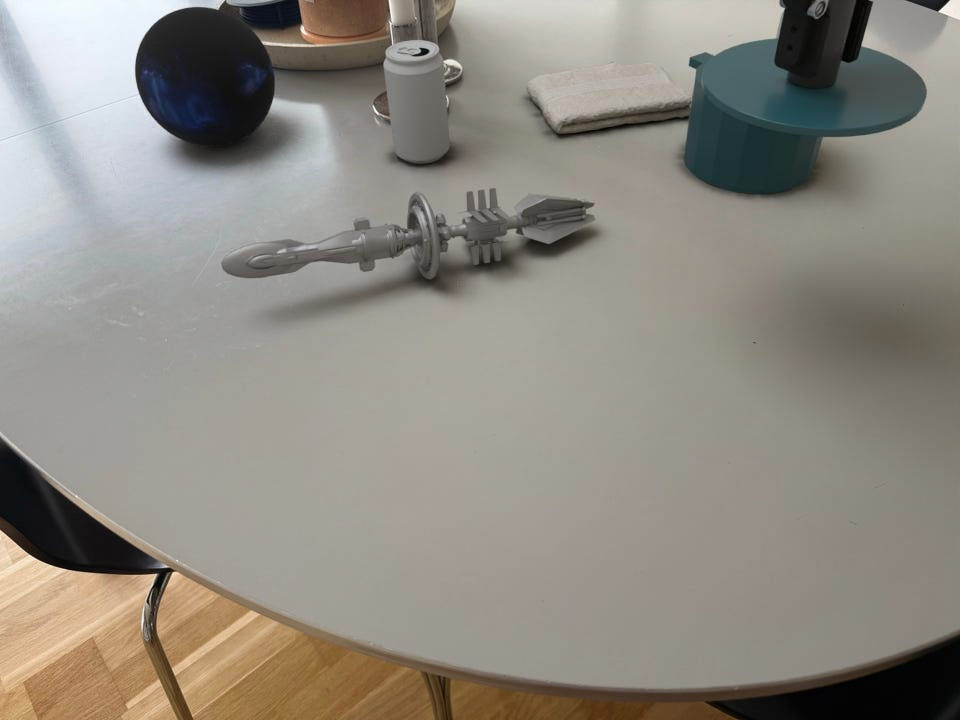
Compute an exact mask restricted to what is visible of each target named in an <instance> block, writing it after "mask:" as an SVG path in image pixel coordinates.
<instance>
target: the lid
mask: <svg viewBox="0 0 960 720" xmlns="http://www.w3.org/2000/svg"><path fill="white" fill-rule="evenodd" d="M856 2H857V0H829V2H828V5H827V8H826V11H825V13H824V15H827V16H830V17H831V19H830V24H829V28H828V32H827V36H826V40H825V44H824V49H823V53H822V57H821V61H820V65H819V69H818V73H817V75H816V76H815V77H812V78H810V79H805V78H803V77H801V76H798V75H796V74H793V73H791V72H789V71H786V70H784V69H781V68H779V67H777V66H776V65H775V63H774V59H775V54H776V49H777V44H778V39H779V38H776V37H774V38H766V39H758V40H751V41H749V42H744V43H740V44H736V45H733V46H731V47H727V48H726V49H723V50H722V51H720V52H718V53H716V54H715V55H714V57H712V58H711V59H710V60H709V61H708V62H707V64H706V65H705V67H704V69H703V73H702V80H701V83H702V89H703V91H704V93H705V95H706V96H707V97H708V99H709V100H710V101H711V102H712V103H713V104H714V105H715V106H717V107H718V108H719V109H721V110H722V111H724V112H726V113H727V114H729V115H731V116H733V117H735V118H737V119H740V120H742V121H744V122H747V123H750V124H753V125H756V126H759V127H762V128H766V129H770V130H774V131H779V132H784V133H789V134H796V135H803V136H815V137H823V138H849V137H851V138H852V137H860V136H869V135H875V134H879V133H883V132H886V131H890V130H894V129H896V128H898V127H901V126H903V125H905V124H907V123H908V122H910V121H912V120H914V118H915V117H917V116H918V114H919V113H920V112H921V111H922V110H923V107H924V105H925V103H926V100H927V95H928V89H927V85H926V83H925V81H924V79H923V77H922V76H921V75H919V73H918V72H917V71H916V70H915V69H914V68H912V67H911V66H910V65H908V64H907V63H905V62H903V61H901V60H899V59H897V58H896V57H894V56H892V55H888V54H887V53H884V52H882V51H879V50H876V49H872V48H869V47H866V46H862V45H861V49H860V53H859V56H858V59H857V60H855V61H853V62H851V63H846V62H844V61H841V60H842V56H843V52H844V48H845V45H846V41H847V37H848V33H849V29H850V25H851V21H852V17H853V14H854V10H855V6H856Z"/></svg>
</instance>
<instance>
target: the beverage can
mask: <svg viewBox="0 0 960 720" xmlns="http://www.w3.org/2000/svg"><path fill="white" fill-rule="evenodd" d="M439 47H440V46H439V45H437V44H436V43H434V42H432V41H429V40H424V39H412V40H411V39H410V40H404V41H400V42H396V43H394V44H392V45H390V46H388V47H387V48H386V50H385V59H384V61H383V64H382V65H383V74H384V82H385V88H386V89H385V90H386V97H387V104H388V105H387V106H388V113H389V114H388V115H389V121H390V128H391V129H390V130H391V137H392V145H393V151H394V154H395V155H396V156H397V157H398V158H400V159H402V160H403V161H404V162H408V163H411V164H417V165H423V164H430V163H434V162H436V161H439V160H440V159H442V158H443V157H444V155H446V154H447V152H449V150H450V145H451V142H450V131H449V130H450V129H449V116H448V115H449V114H448V104H447V101H448V100H447V88H446V77H445V76H446V75H445V62H444V58H443V56H442V54H441V53H440V48H439Z"/></svg>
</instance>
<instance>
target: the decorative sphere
mask: <svg viewBox="0 0 960 720" xmlns="http://www.w3.org/2000/svg"><path fill="white" fill-rule="evenodd" d="M134 74H135V75H134V77H135V84H136V88H137V91H138V94H139V97H140V100H141V101H142V104H143V105H144V107H145V110H147V112H148V113H149V115H150V116H151V118H153V120H154V121H155V122H156V123H157V124H158V125H159V126H160V127H161V128H162V129H163V130H165V131H166V132H167V133H168V134H170V135H172V136H174V137H175V138H177V139H179V140H182V141H183V142H186V143H189V144H192V145H195V146H201V147H224V146H228V145H231V144H235V143H238V142H240V141H242V140H244V139H246V138H247V137H248V136H250V135H252V133H254V132H255V131H256V130H257V129H258V128H259V127H260V126H261V125H262V124H263V122H264V121H265V119H266V117H267V116H268V114H269V112H270V110H271V107H272V105H273V101H274V97H275V89H276V77H275V70H274V67H273V63H272V59H271V57H270V55H269V52H268V50H267V48H266V46H265V44H264V43H263V41H262V40H261V39H260V38H259V36H258V35H257V34H256V32H255V31H254V30H253V29H252V28H251V27H249V26H248V25H247V24H246V23H245V22H243V20H240V19H239V18H237V17H236V16H234V15H233V14H230V13H228V12H227V11H223V10H221V9H216V8H213V7H206V6H205V7H204V6H189V7H184V8H179V9H176V10H173V11H171V12H169V13H167V14H165V15H163V16H162V17H160V18H159V19H158V20H157V21H155V22H154V23H153V24H152V25H151V26H150V27H149V28H148V30H147V32H145V34H144V35H143V37H142V39H141V41H140V42H139V46H138V49H137V52H136V55H135V63H134Z"/></svg>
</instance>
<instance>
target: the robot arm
mask: <svg viewBox="0 0 960 720" xmlns="http://www.w3.org/2000/svg"><path fill="white" fill-rule="evenodd" d="M778 1H779V3H778V4H779V6H780V7H781V8H782V9H784V10H783V11H784V14H783V19H782V24H781V29H780V34H779V39H778V44H777V49H776V54H775V59H774V63H775V65H776V66H777V67H779V68H781V69H784V70H786V71H789V72H791V73H793V74H796V75H798V76H801V77H803V78H805V79H810V78H812V77H815V76H816V75H817V73H818V69H819V65H820V61H821V57H822V53H823V49H824V44H825V40H826V36H827V32H828V28H829V24H830V19H831V17H830V16H827V15H824V13H825V11H826V8H827V5H828V2H829V0H778ZM873 5H874V1H873V0H857V2H856V6H855V10H854V14H853V17H852V21H851V25H850V29H849V33H848V37H847V41H846V45H845V48H844V52H843V56H842V60H841V61H844V62H846V63H851V62H853V61H855V60H857V59H858V56H859V53H860V49H861V46H862V45H863V41H864V37H865V34H866V31H867V26H868V23H869V19H870V15H871V12H872V8H873Z"/></svg>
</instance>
